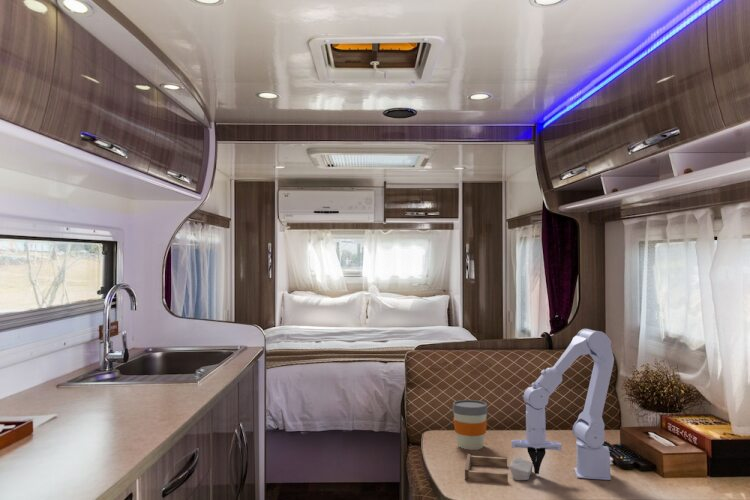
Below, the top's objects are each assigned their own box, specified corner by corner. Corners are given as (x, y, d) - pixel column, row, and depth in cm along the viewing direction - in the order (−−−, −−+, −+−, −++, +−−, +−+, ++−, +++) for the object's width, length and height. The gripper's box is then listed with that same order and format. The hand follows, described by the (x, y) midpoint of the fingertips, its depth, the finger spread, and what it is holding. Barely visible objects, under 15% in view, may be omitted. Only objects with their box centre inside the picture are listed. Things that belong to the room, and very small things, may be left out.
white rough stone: (524, 492, 164) (528, 476, 162) (504, 483, 167) (508, 468, 165) (532, 472, 173) (535, 457, 171) (512, 464, 175) (516, 449, 173)
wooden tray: (507, 465, 177) (506, 456, 177) (507, 483, 163) (507, 472, 163) (467, 463, 180) (467, 453, 180) (464, 479, 165) (464, 469, 165)
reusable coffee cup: (494, 449, 194) (493, 406, 194) (460, 452, 191) (460, 408, 192) (479, 439, 206) (478, 398, 207) (447, 442, 203) (447, 400, 204)
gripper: (511, 429, 166) (512, 475, 166) (562, 432, 163) (563, 479, 163) (511, 423, 173) (511, 467, 173) (559, 426, 170) (560, 470, 169)
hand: (536, 472), depth 168 cm, fingers closed
